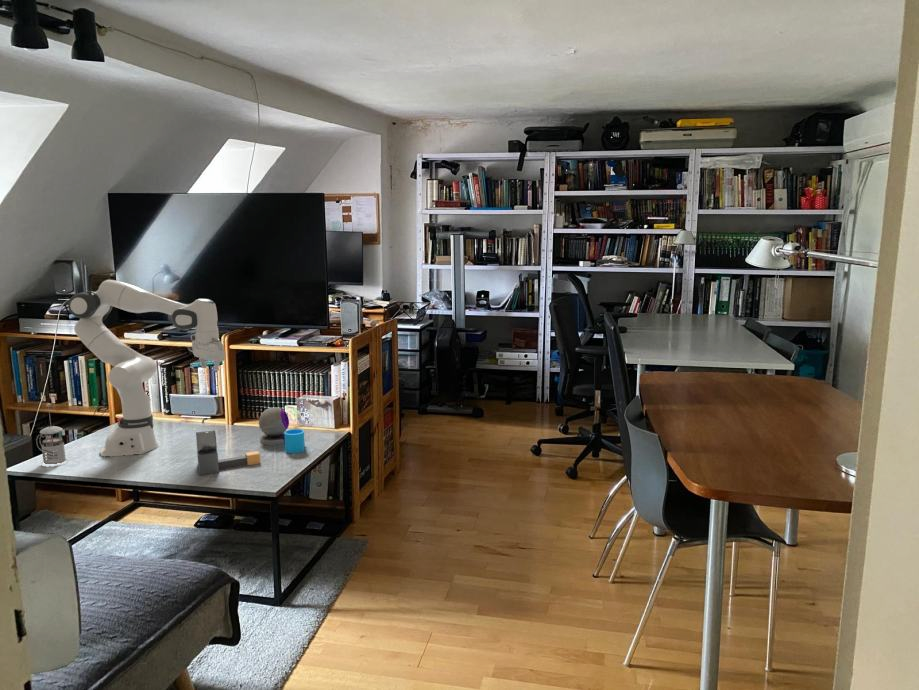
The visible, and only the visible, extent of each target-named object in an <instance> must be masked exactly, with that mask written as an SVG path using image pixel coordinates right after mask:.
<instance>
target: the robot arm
mask: <svg viewBox="0 0 919 690" xmlns="http://www.w3.org/2000/svg"><path fill="white" fill-rule="evenodd" d="M67 307H68V310H69V312H70V314H72V315H73V316H74V317H76V318H78V319H79V320H78V321H77V322H76V323H75V325H74V332H75V334H76V336H77V338H78V339H79V340H80V341H81V342H82V344H83V345H84V346H85V347H86V349H88V350H89V351H91V353H93V355H95V357H97V359H99V360H100V361H101V362H102V363H105V364H108V365H111V366H112V368H111V369H110V370H109V372H108V377H107V378H108V379H107V380H108V382H109V384H110V385H111V386H112V387H113V388H114V389H116V391H117V394H118V395H119V399H120V402H121V403H120V404H121V410H122V412H121V413H122V416H118V418H117V425H118V427H116V429H114V430H113V431H112V432H111V433H110V434H108V436H107V437H106V440H105V442H104V446H103V447H101V449H100V450H99V455H100V456H101V457H103V456H104V457H103V458H106V457H105V456H110V457H122V456H123V455H125V456H134V455H133V454H139V455H143V454H145V453H147V452H151V451H152V450H155V449H157V448H158V447H159V444H158V441H157V439H156V435H155V430H154V426H155V423H154V415H153V414H152V407H151V406H152V405H151V397H150V396H149V395H148V394H147V393H146V392H145V389H144V386H143V383H144V382H146V381H149V380H150V379H151V378H152V377H153V376H155V374H156V372H157V369H158V367H157V364H156V361H155V360H154V359H153V358H151V357H149V356H146V355H143V354H141V353H140V352H138V351H136V350H134V349H133V348H131V347H130V346H128V345H126V344H125V343H124V342H123V341H122V340H121V339H119V337H117V336H116V335H115V334H114V333H113V332H112V331H111V330H110V329H109V328H107V326H106V325H105V324H104V322H105V321H106V319H107V318H108V316H109V314H110V313H111V311H112V310H113V307H114V308H117V309H120V310H123V311H126V312H128V313H134V314H142V313H149V312H150V313H151V312H152V313H153V312H159V313H162V314H163V313H164V314H165V315H169V316H171V317H170V318H171V323H172V325H173V327H174V328H176V329H178V331H179V330H180V331H189V330H190V329H195V331H196V332H195V333H194V334H191V335H190V340H191V347H192V354H193V355H194V356H193V357H196V358H198V360H199V362H200V367H201V368H202V369H206V368H208V366H207V365H208V363H206V360H208V361H213V364H214V365H213V367H212V370H213V371H214V372H218V371H219V370H220V369H219V367H220V365H221V362H223V361H225V360H226V352H225V346H224V344H223V341H221V339H220V334H219V327H218V320H219V319H218V311H217V306H216V303H215V302H214V301H213V300H212V299H209V298H198V299H195V300H194V301H193V302H191V303H184V302H183V303H182V302H179V301H176V300H172V299H170V298H168V297H167V298H166V297H163V296H160V295H157V294H155V293H152V292H150V291H147V290H145V289H143V288H140V287H138V286H135V285H133V284H130V283H128V282H123V281H120V280H115V279H106V280H104V281H102V282H101V283H100V285H99V286H98V289H97V290H96V291H93V290H90V291H82V292H78V293H76V294H74V295H73V296H71V297H70V298H69V300H68V302H67ZM103 321H104V322H103ZM123 457H124V456H123Z"/></svg>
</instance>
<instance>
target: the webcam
mask: <svg viewBox="0 0 919 690" xmlns="http://www.w3.org/2000/svg"><path fill="white" fill-rule="evenodd" d="M258 419H259V420H258V426H259V428H260V430H261V432H262V433H263V435H262V434H261V436H260V437H259V442H260V443H261V444H262V445H269V446H270V445H271V446H273V445H274V446H275V445H282V444H285V434H284V432H285V431H287V430H288V429H289V426H290V420H289V416H288V413H287V412H286V411H285V409H283V408H280V407H276V406H273V407H269V408H266V409H265V410H264V411H263V412H262V413H261V414H260V416H259V418H258ZM281 443H282V444H281Z"/></svg>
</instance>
